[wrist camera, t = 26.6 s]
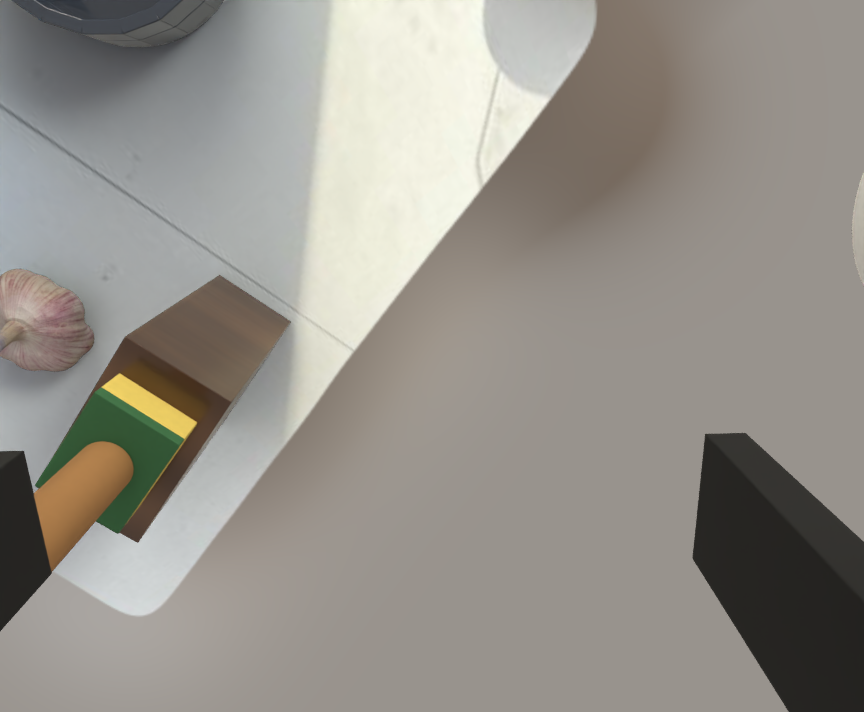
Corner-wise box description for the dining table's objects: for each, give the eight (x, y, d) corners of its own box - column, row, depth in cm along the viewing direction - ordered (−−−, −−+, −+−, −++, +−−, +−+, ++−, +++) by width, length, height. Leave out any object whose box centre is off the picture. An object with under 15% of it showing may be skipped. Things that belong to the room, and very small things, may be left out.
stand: (219, 274, 48) (125, 336, 33) (291, 321, 49) (232, 402, 34) (152, 382, 50) (34, 486, 35) (222, 424, 51) (137, 543, 36)
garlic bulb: (118, 349, 50) (63, 387, 42) (27, 375, 50) (-44, 416, 42) (75, 251, 47) (8, 272, 40) (-20, 278, 48) (-104, 304, 40)
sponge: (119, 372, 33) (-14, 473, 23) (198, 422, 34) (102, 541, 24) (62, 460, 35) (-87, 593, 24) (139, 506, 36) (26, 652, 25)
